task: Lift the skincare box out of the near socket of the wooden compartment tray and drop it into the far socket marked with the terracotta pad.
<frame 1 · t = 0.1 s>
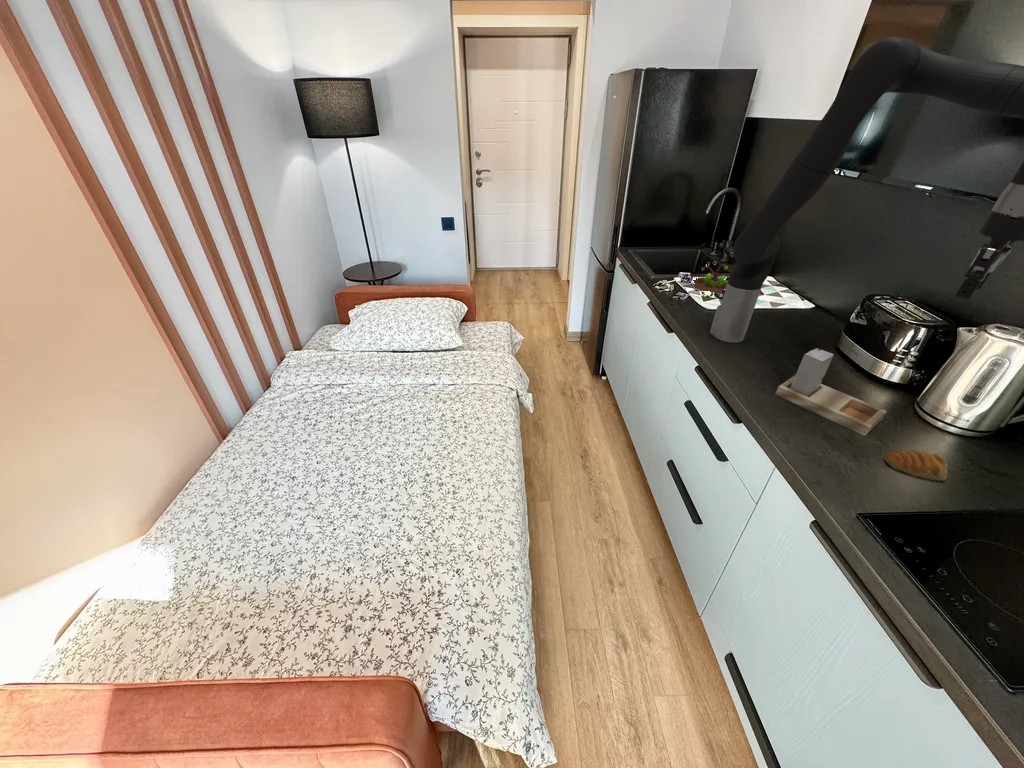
hand: (967, 292, 88), 29 cm above the worktop, tool pointing down, fingers open, 8 cm apart
wooden compartment tray: (826, 406, 103), on the worktop
skincare box: (800, 395, 108), resting in wooden compartment tray
plant: (711, 292, 166), on the worktop
pastry: (914, 469, 86), on the worktop
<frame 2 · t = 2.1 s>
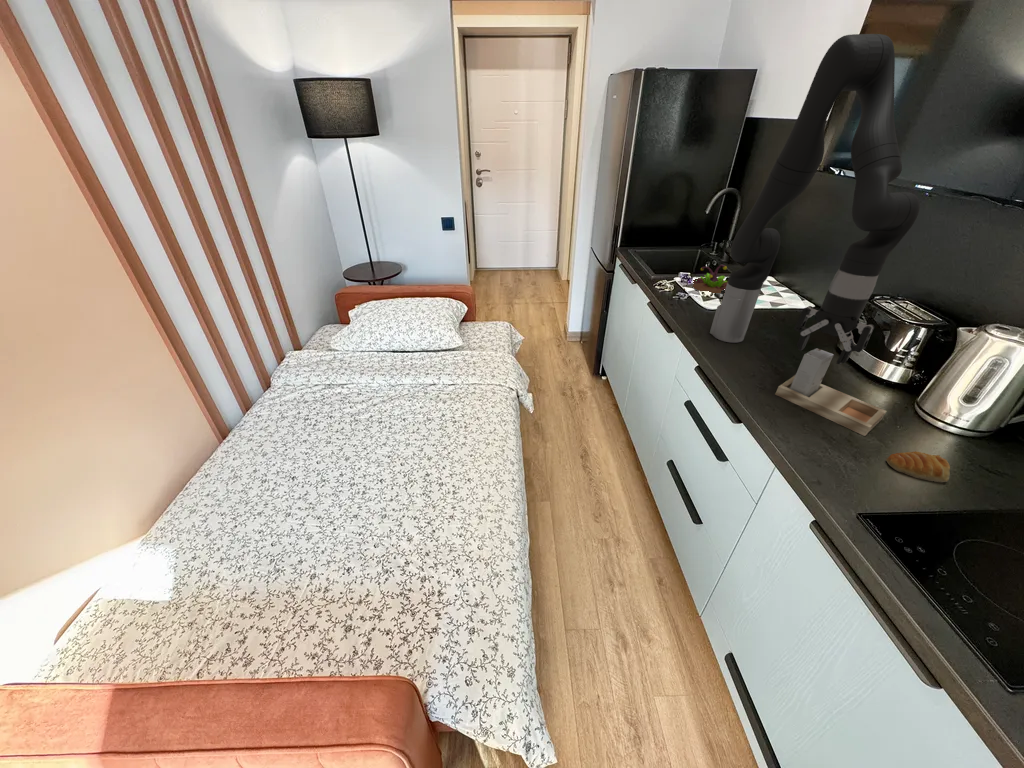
hand: (819, 356, 101), 12 cm above the worktop, tool pointing down, fingers open, 8 cm apart
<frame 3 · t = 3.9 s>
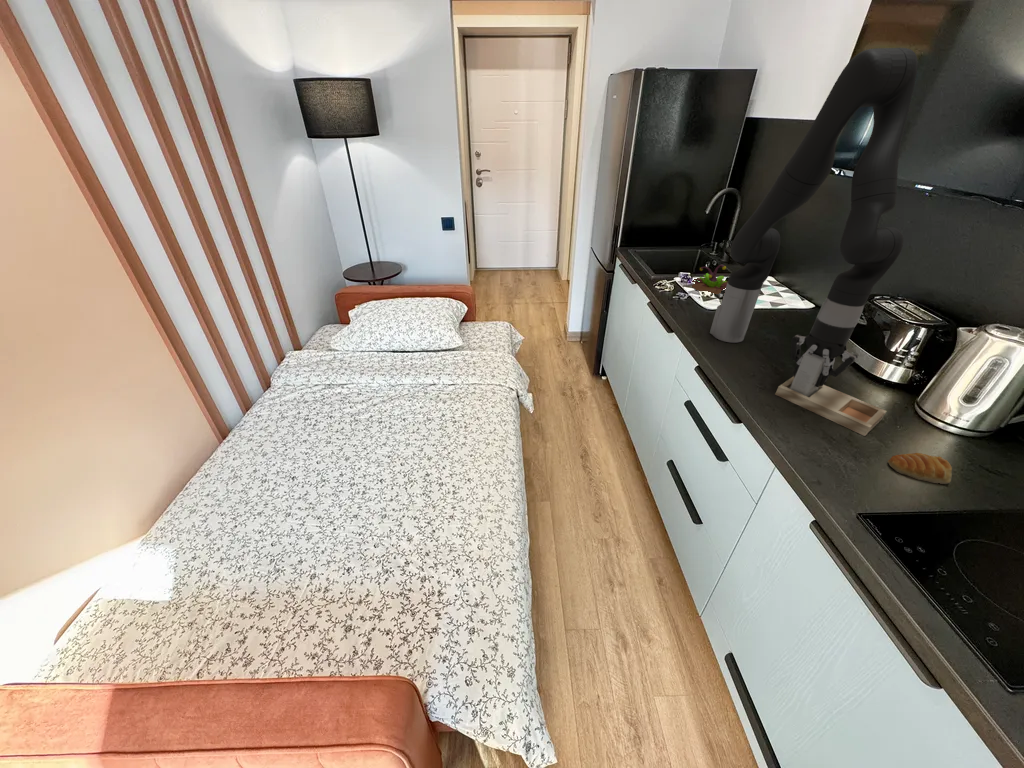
hand: (807, 381, 105), 4 cm above the worktop, tool pointing down, fingers closed on skincare box, 4 cm apart
skincare box: (800, 395, 108), resting in wooden compartment tray, touching gripper
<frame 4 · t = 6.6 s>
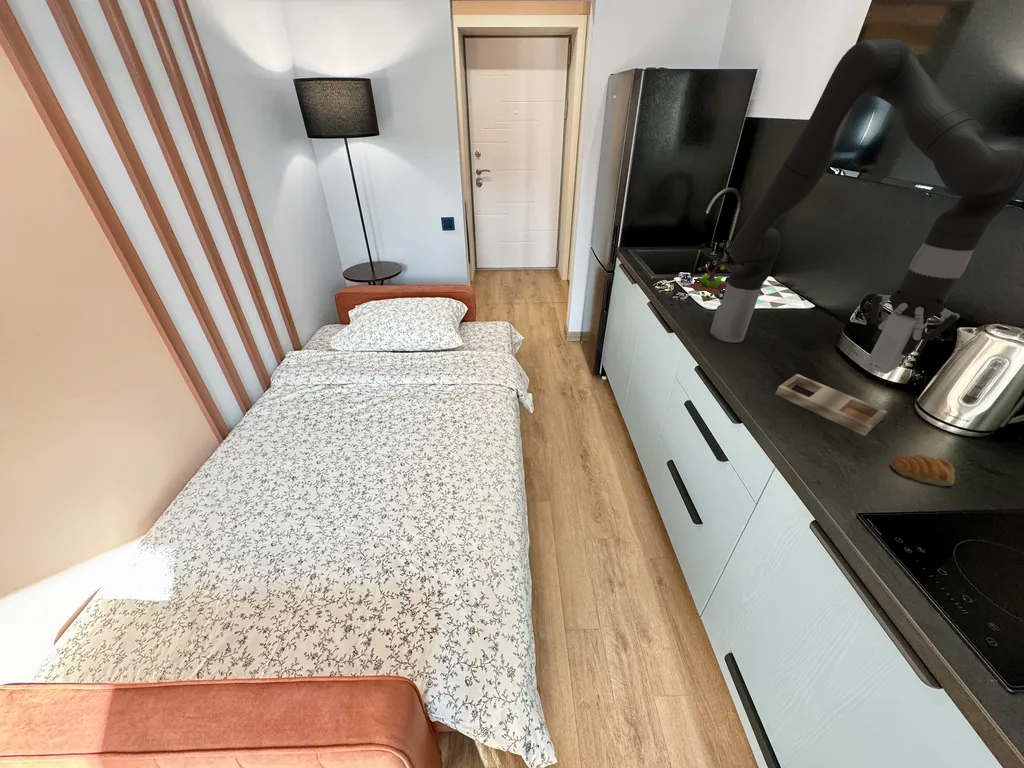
hand: (890, 348, 89), 19 cm above the worktop, tool pointing down, fingers closed on skincare box, 4 cm apart
skincare box: (880, 367, 91), point 14 cm above the worktop, touching gripper
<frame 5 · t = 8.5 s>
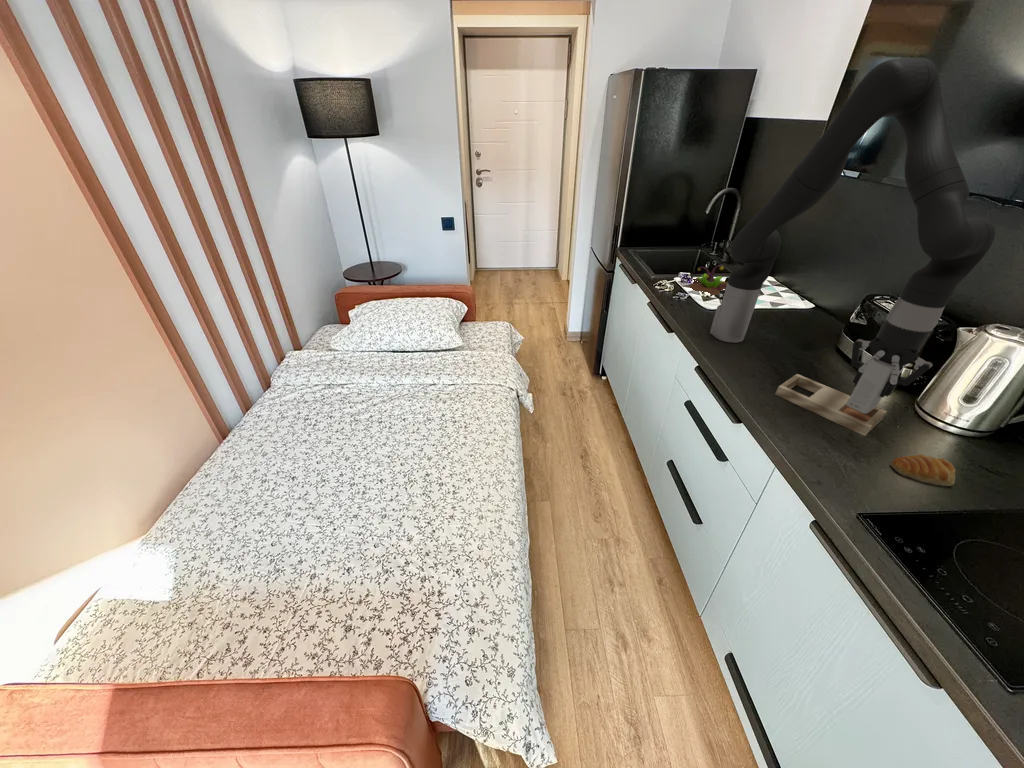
hand: (870, 390, 95), 8 cm above the worktop, tool pointing down, fingers closed on skincare box, 4 cm apart
skincare box: (860, 406, 97), point 4 cm above the worktop, touching gripper
when the fingers open (6 cm above the worktop, at t = 9.8 s): skincare box drops 1 cm, resting on wooden compartment tray.
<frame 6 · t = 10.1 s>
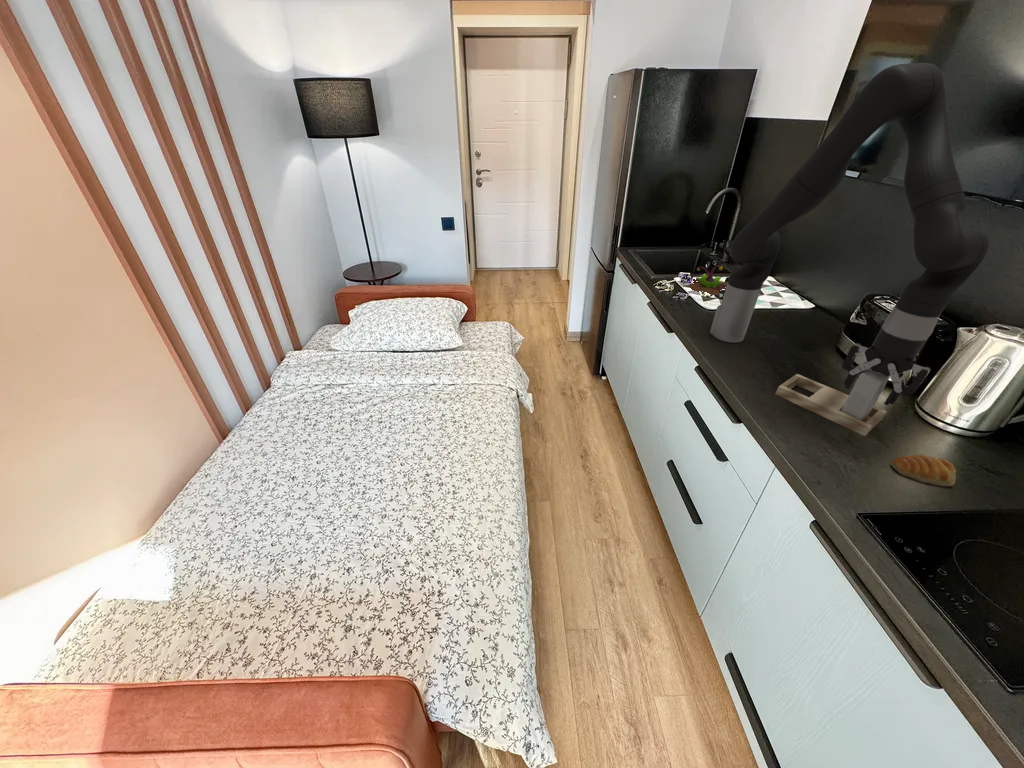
hand: (867, 395, 96), 7 cm above the worktop, tool pointing down, fingers open, 7 cm apart
skincare box: (851, 417, 100), resting on wooden compartment tray
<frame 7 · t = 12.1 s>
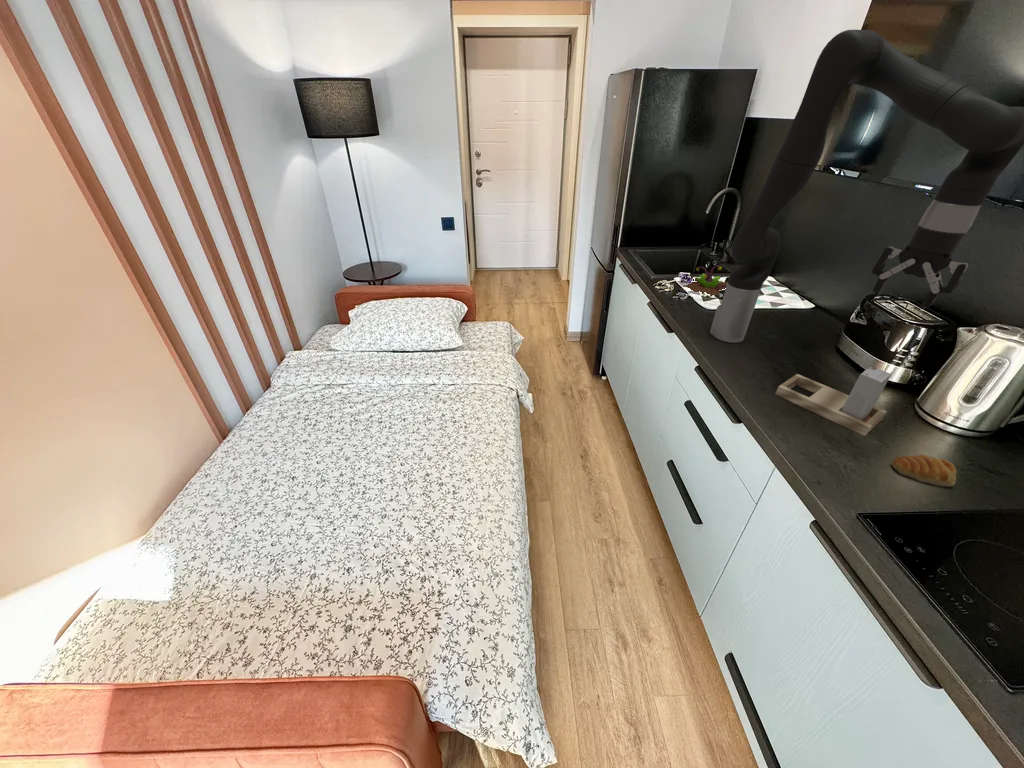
hand: (899, 301, 93), 26 cm above the worktop, tool pointing down, fingers open, 8 cm apart
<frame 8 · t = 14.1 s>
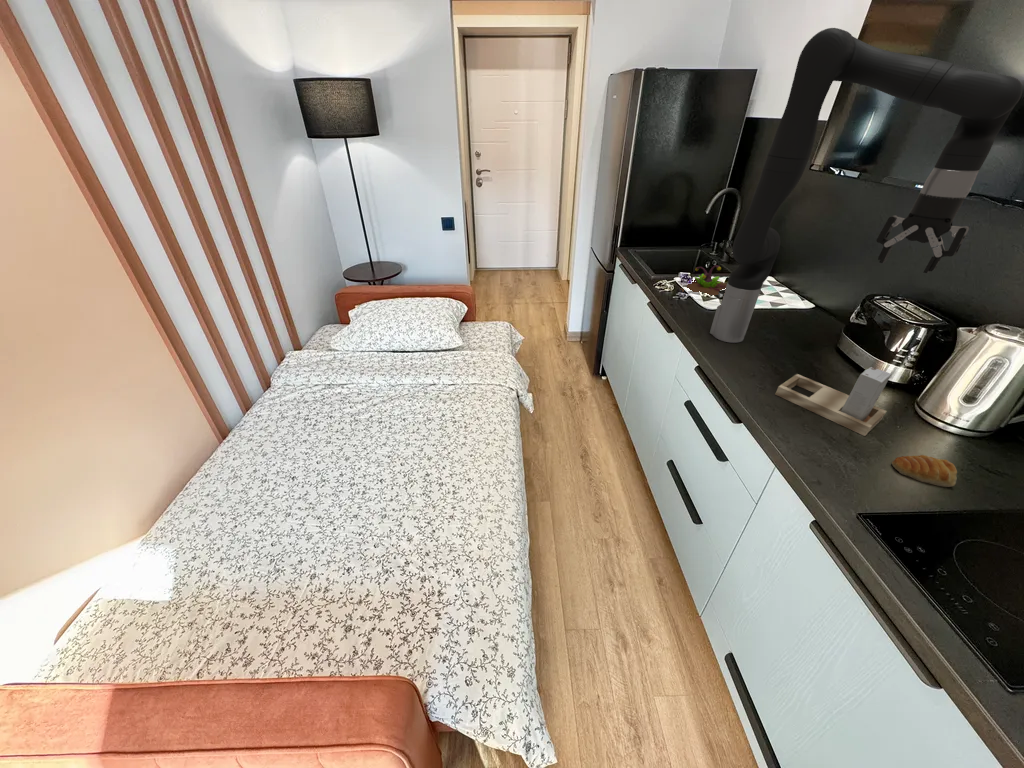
hand: (903, 267, 98), 30 cm above the worktop, tool pointing down, fingers open, 8 cm apart
at the end: skincare box 0.5 cm from the target spot on the wooden compartment tray, point 0.1 cm above the wooden compartment tray's base; skincare box tilted 0°; the gripper is holding nothing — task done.
